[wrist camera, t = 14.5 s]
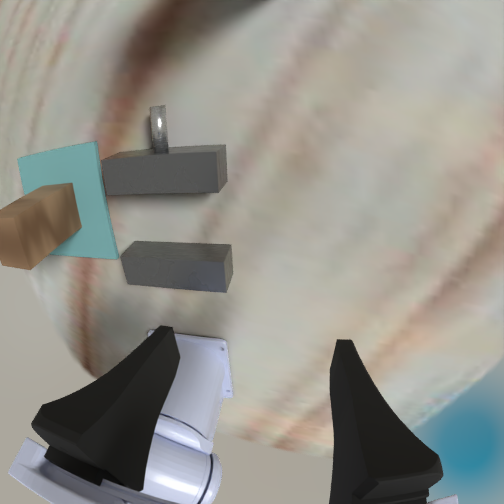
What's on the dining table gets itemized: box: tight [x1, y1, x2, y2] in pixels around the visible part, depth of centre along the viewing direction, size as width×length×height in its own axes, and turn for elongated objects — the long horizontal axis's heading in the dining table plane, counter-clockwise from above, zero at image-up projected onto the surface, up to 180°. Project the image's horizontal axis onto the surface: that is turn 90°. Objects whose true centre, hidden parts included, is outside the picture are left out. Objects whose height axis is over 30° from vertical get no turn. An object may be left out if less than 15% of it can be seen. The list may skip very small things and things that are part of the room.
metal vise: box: [101, 105, 233, 293], centre depth 20 cm, size 13×8×2 cm, turn 1°
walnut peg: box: [0, 183, 82, 270], centre depth 19 cm, size 4×4×7 cm
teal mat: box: [17, 141, 119, 259], centre depth 22 cm, size 10×10×1 cm
